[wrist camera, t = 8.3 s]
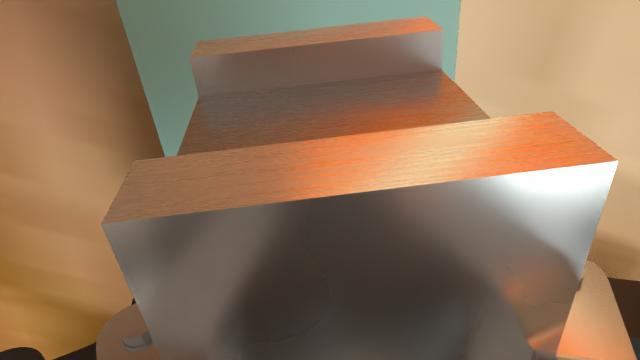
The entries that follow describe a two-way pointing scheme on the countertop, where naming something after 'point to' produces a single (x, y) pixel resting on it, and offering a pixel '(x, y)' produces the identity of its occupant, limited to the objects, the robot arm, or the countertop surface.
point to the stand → (236, 21)
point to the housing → (355, 208)
